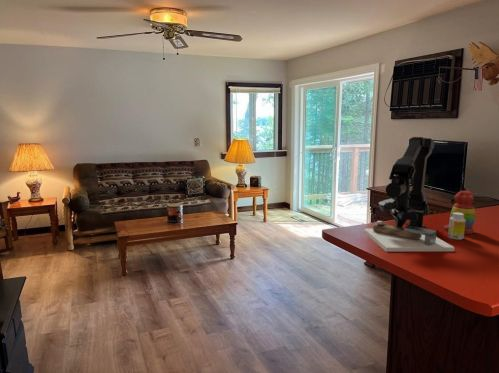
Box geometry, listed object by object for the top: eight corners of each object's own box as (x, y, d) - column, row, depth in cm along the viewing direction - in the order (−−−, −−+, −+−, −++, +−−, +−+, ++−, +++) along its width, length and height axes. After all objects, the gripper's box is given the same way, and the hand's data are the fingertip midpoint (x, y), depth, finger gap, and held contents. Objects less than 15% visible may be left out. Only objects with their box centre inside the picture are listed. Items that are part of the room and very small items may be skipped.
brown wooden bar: (370, 230, 152) (371, 224, 152) (376, 228, 156) (376, 222, 155) (417, 240, 140) (417, 233, 139) (421, 237, 143) (422, 231, 143)
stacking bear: (460, 226, 166) (464, 188, 163) (480, 233, 156) (485, 192, 153) (441, 228, 163) (445, 189, 160) (460, 235, 153) (465, 193, 150)
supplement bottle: (466, 239, 148) (469, 214, 146) (456, 240, 146) (459, 215, 144) (454, 235, 153) (457, 211, 151) (444, 236, 151) (447, 212, 149)
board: (363, 231, 157) (364, 218, 156) (421, 231, 158) (422, 218, 157) (386, 251, 133) (387, 236, 132) (454, 251, 133) (455, 235, 132)
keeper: (403, 239, 142) (404, 227, 141) (409, 236, 145) (410, 225, 145) (429, 245, 135) (430, 233, 134) (435, 242, 138) (436, 230, 137)
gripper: (373, 188, 156) (371, 223, 159) (390, 198, 138) (387, 238, 141) (399, 188, 157) (396, 223, 160) (420, 198, 138) (416, 238, 141)
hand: (398, 230), depth 150 cm, fingers closed
